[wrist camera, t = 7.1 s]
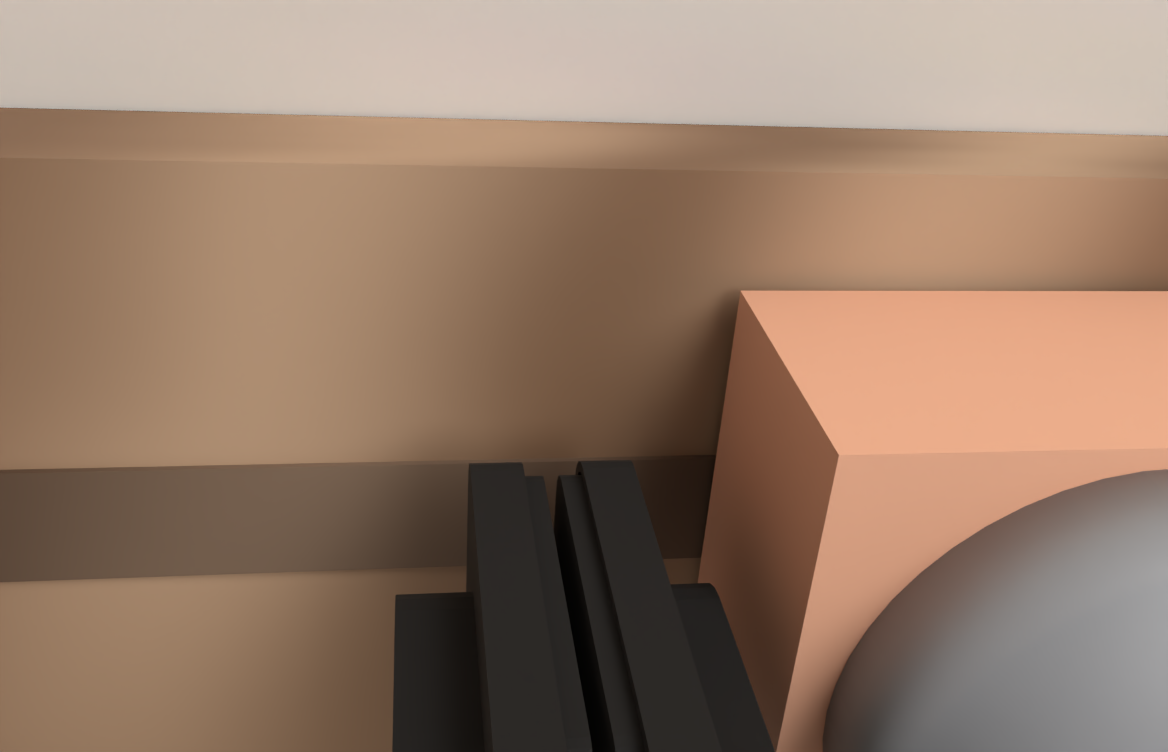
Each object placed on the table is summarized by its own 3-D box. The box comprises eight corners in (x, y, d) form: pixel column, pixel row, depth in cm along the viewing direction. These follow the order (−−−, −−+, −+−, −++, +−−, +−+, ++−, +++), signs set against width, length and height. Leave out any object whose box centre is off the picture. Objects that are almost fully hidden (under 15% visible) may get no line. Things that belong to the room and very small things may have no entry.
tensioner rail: (1578, 146, 14) (2378, 426, 8) (1325, 635, 18) (1749, 1052, 12) (-670, 91, 10) (-1983, 521, 5) (-363, 720, 14) (-872, 1367, 8)
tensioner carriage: (1274, 291, 12) (1719, 576, 8) (1119, 672, 15) (1392, 1031, 11) (740, 289, 11) (931, 612, 7) (681, 695, 14) (794, 1096, 10)
